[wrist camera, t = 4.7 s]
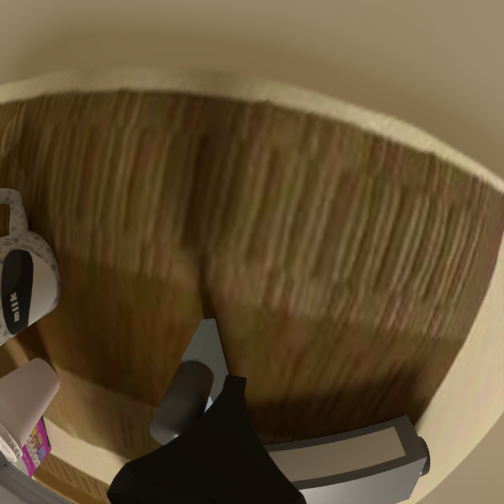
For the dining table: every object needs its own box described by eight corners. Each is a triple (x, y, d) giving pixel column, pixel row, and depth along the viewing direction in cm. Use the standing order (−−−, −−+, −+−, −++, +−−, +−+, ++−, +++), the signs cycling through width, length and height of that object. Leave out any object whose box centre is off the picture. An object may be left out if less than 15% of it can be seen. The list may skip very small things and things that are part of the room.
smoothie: (14, 344, 19) (-74, 416, 6) (50, 344, 19) (-55, 439, 5) (43, 397, 21) (-27, 477, 7) (82, 403, 20) (7, 506, 6)
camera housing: (258, 488, 21) (255, 527, 16) (238, 446, 19) (232, 493, 14) (407, 458, 19) (420, 494, 14) (419, 409, 18) (441, 450, 13)
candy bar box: (12, 382, 21) (-65, 458, 5) (41, 406, 21) (-34, 495, 5) (26, 431, 24) (-28, 497, 8) (52, 450, 24) (2, 524, 8)
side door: (256, 448, 19) (249, 533, 11) (234, 448, 19) (221, 532, 11) (223, 316, 16) (186, 419, 8) (193, 319, 16) (140, 416, 8)
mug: (66, 320, 18) (12, 363, 11) (16, 302, 18) (-35, 332, 12) (58, 185, 16) (-16, 192, 9) (7, 186, 16) (-55, 194, 9)
